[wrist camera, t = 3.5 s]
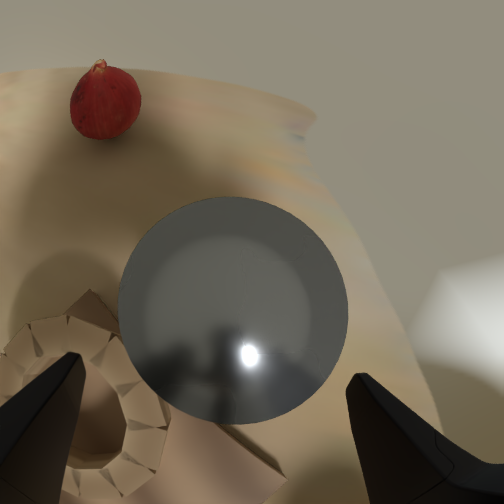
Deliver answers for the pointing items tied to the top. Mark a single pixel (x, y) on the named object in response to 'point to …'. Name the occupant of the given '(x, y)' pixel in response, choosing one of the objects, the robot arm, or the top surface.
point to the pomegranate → (104, 102)
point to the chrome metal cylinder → (232, 310)
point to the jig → (131, 423)
